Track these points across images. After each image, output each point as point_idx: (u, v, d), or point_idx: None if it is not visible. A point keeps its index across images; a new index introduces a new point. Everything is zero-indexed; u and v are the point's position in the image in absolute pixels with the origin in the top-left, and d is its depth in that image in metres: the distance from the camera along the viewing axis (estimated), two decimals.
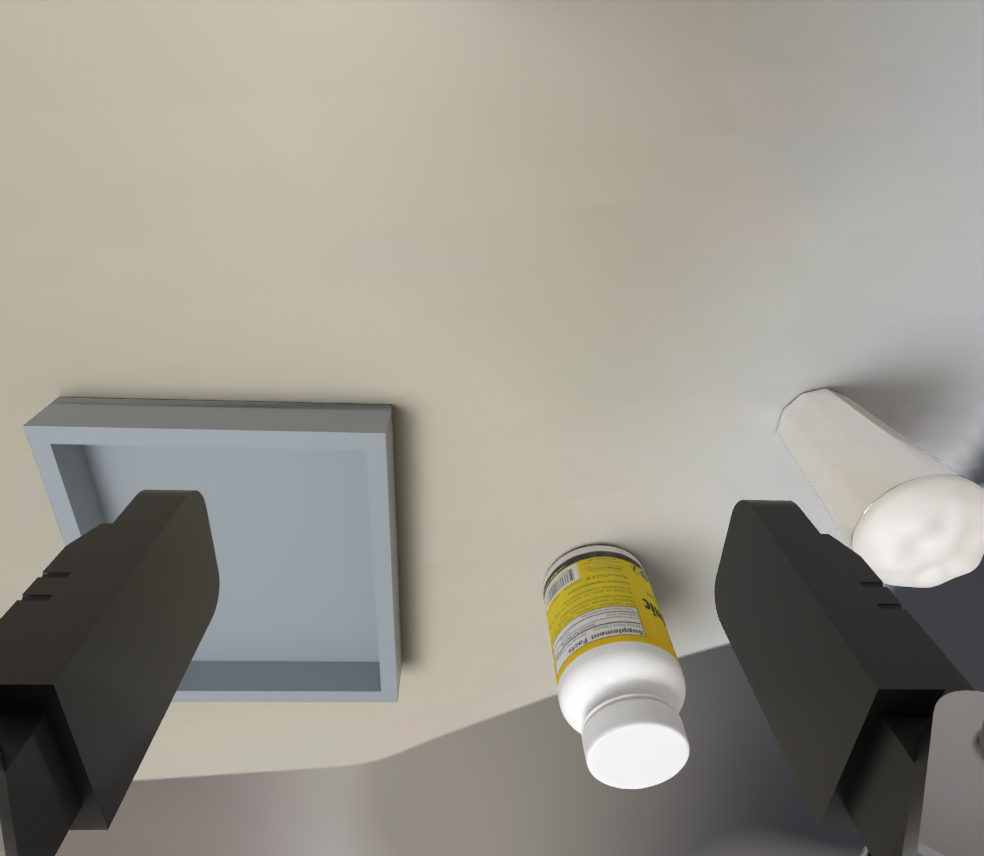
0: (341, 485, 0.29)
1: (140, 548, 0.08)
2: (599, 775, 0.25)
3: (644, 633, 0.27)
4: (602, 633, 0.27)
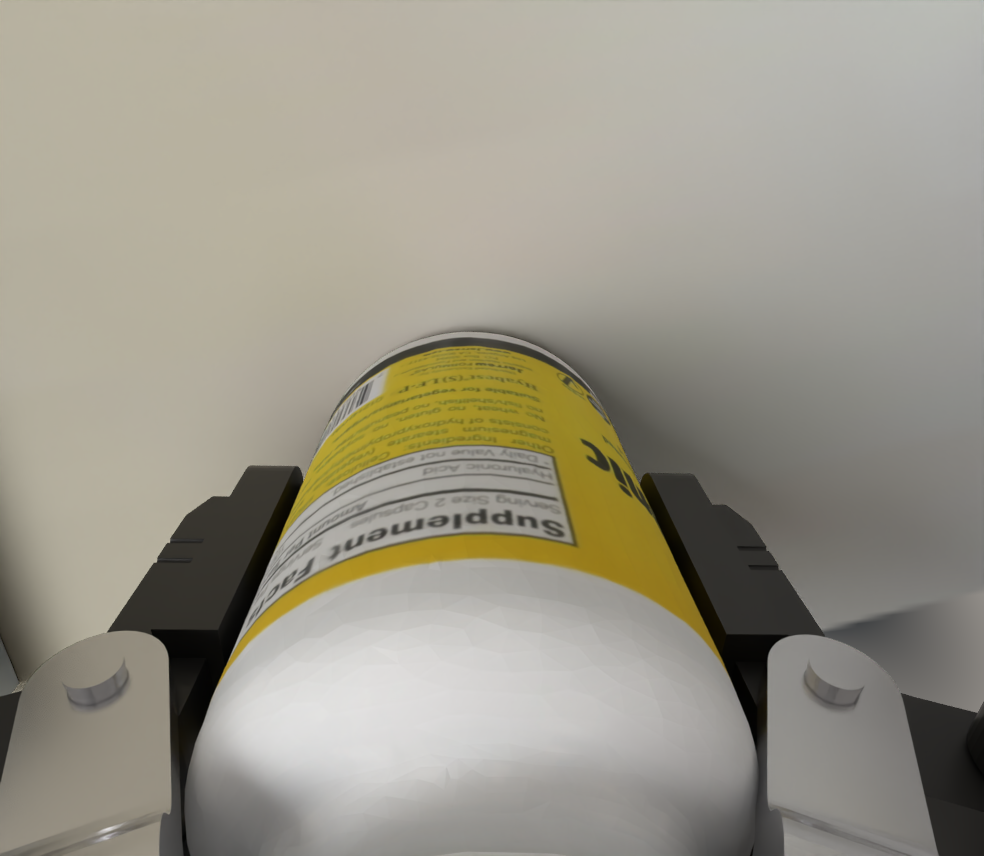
0: None
1: (262, 516, 0.09)
2: None
3: (568, 531, 0.06)
4: (378, 534, 0.06)
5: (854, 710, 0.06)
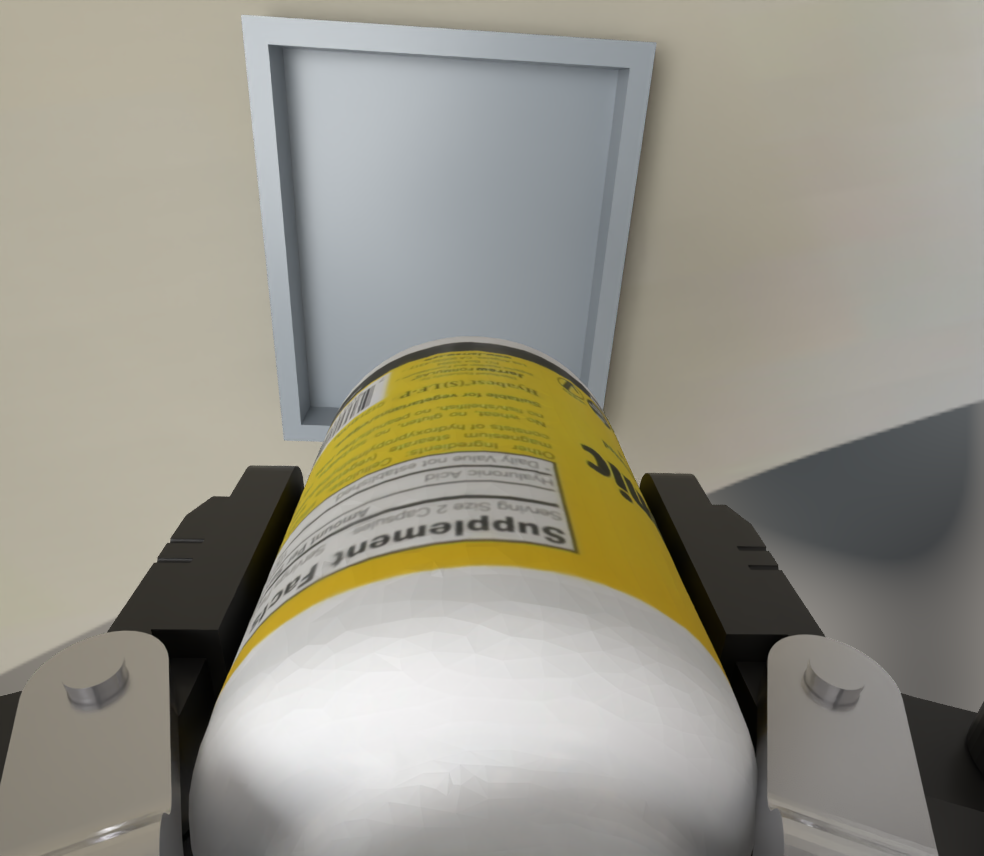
0: (569, 155, 0.26)
1: (262, 516, 0.09)
2: None
3: (570, 538, 0.06)
4: (381, 541, 0.06)
5: (854, 711, 0.06)
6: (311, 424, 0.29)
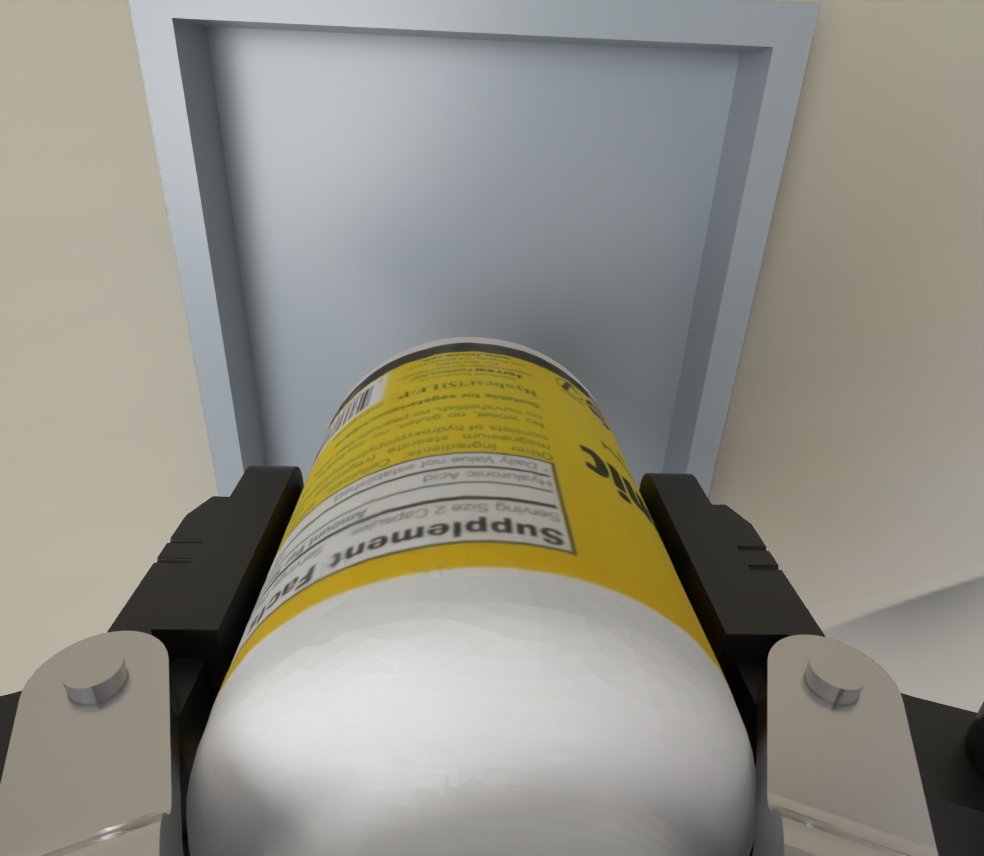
0: (656, 185, 0.17)
1: (262, 516, 0.09)
2: None
3: (568, 539, 0.06)
4: (379, 542, 0.06)
5: (854, 710, 0.06)
6: None
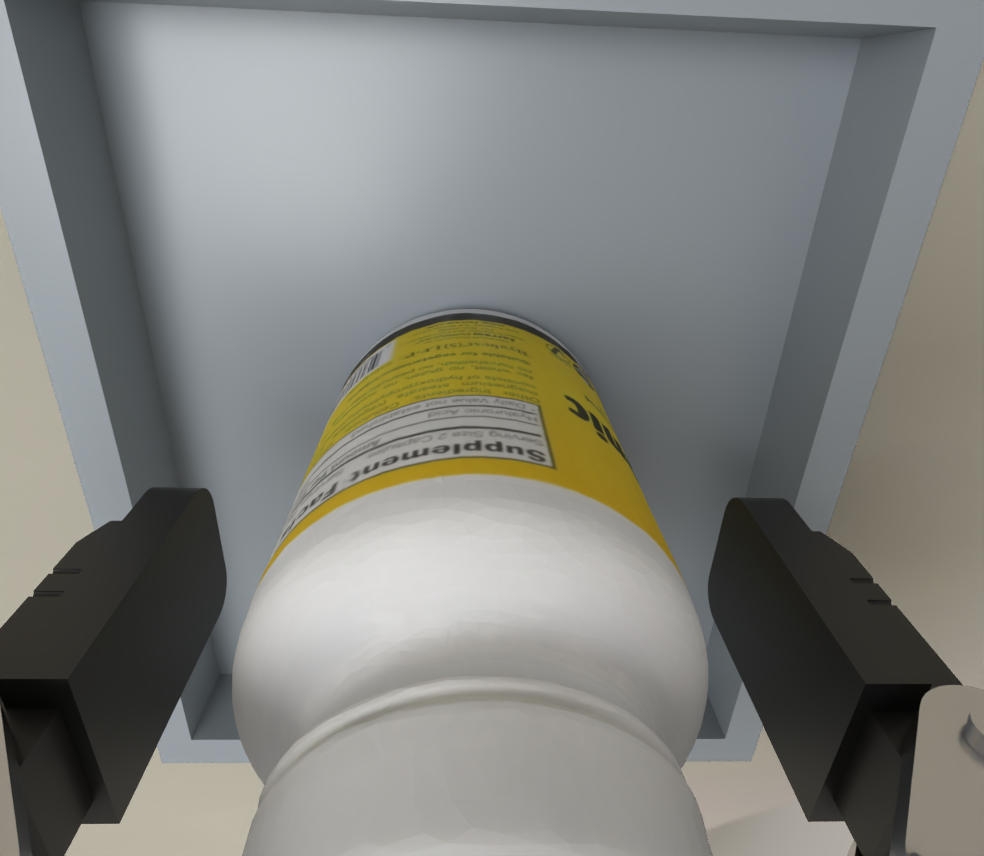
0: (731, 227, 0.12)
1: (150, 545, 0.08)
2: None
3: (550, 458, 0.07)
4: (391, 461, 0.07)
5: None
6: (212, 738, 0.15)
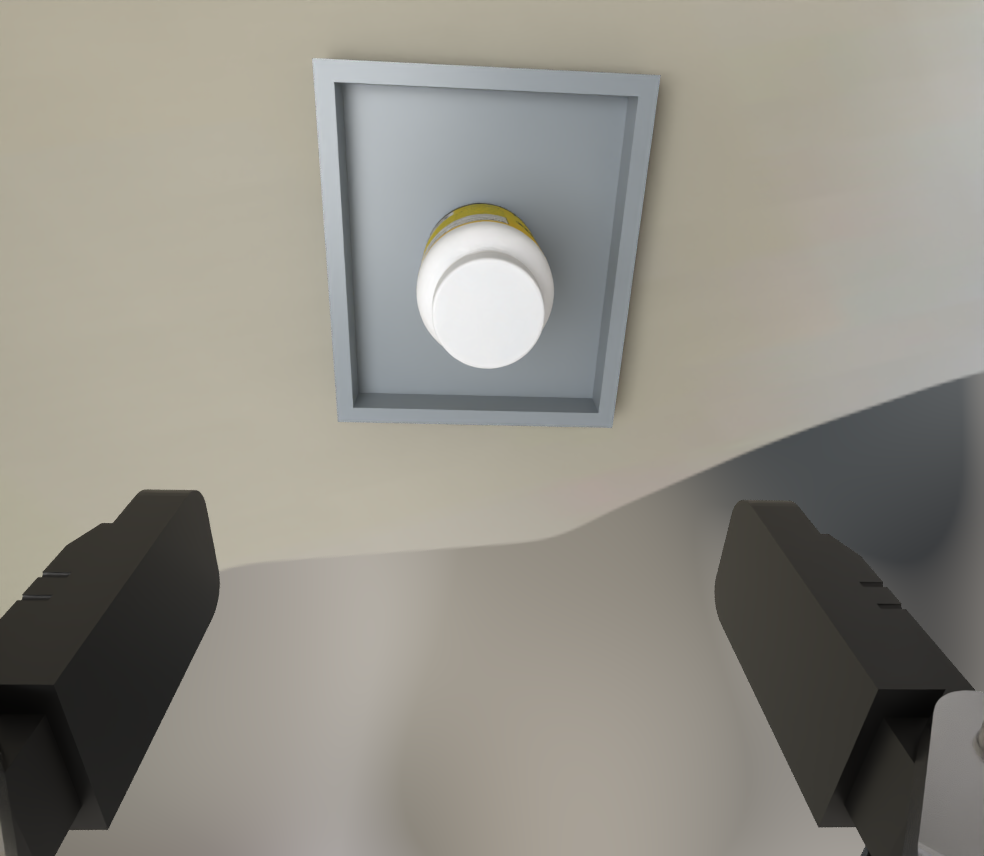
0: (586, 169, 0.30)
1: (140, 548, 0.08)
2: (448, 343, 0.23)
3: (507, 222, 0.25)
4: (462, 223, 0.25)
5: None
6: (362, 407, 0.33)
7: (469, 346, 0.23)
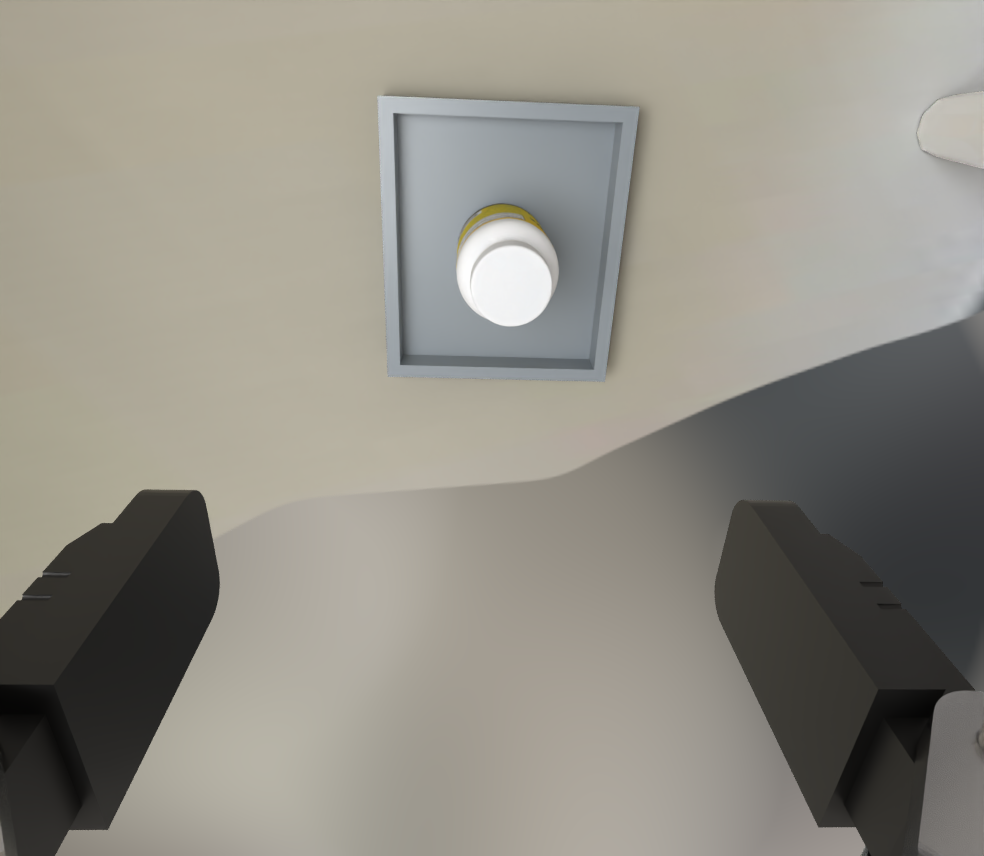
0: (583, 177, 0.38)
1: (140, 548, 0.08)
2: (482, 307, 0.32)
3: (524, 219, 0.34)
4: (490, 219, 0.34)
5: None
6: (407, 365, 0.41)
7: (497, 309, 0.32)
